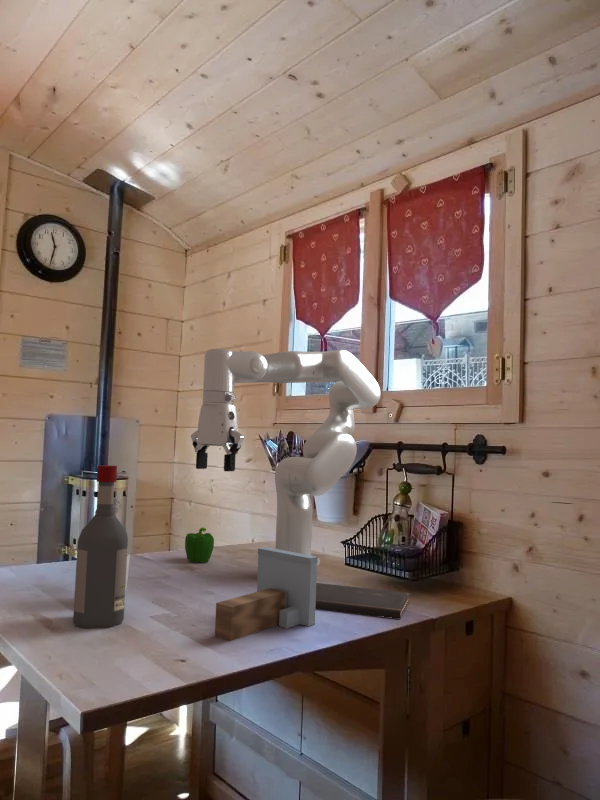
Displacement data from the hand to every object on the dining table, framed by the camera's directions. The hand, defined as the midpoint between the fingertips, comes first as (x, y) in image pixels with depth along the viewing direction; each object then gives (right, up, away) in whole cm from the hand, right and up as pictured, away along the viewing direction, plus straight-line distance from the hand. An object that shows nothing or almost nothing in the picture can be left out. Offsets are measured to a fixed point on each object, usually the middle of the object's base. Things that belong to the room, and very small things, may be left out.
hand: (215, 469), depth 148 cm
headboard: (+16, -27, -25) cm, 40 cm away
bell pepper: (-9, -30, +29) cm, 42 cm away
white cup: (-21, -27, -17) cm, 38 cm away
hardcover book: (+33, -30, -11) cm, 46 cm away
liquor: (-18, -26, -30) cm, 44 cm away
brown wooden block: (+11, -27, -31) cm, 43 cm away
